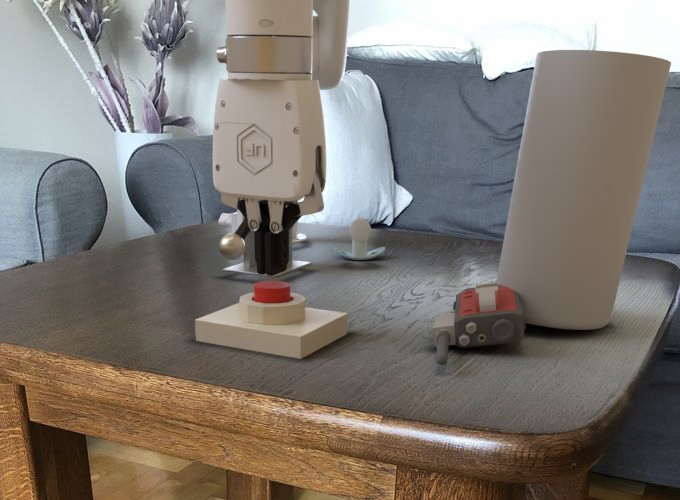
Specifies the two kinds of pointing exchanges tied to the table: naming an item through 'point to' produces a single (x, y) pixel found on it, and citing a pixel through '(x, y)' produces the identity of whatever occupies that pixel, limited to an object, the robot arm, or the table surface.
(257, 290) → the button
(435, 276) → the table surface
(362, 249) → the pacifier
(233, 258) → the switch lever
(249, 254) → the switch bracket
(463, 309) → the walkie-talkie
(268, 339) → the button housing
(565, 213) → the cylinder vase
